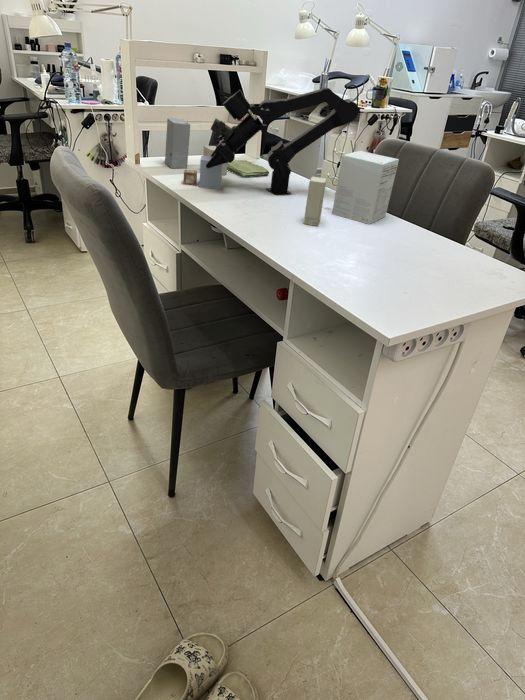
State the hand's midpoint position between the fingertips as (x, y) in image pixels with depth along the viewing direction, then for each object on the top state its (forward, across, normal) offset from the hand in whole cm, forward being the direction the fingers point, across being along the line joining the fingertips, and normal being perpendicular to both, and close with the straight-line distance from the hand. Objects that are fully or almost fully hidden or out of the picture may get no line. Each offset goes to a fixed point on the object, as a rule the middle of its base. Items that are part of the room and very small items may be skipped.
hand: (207, 164), depth 162 cm
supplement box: (-30, +18, +39) cm, 52 cm away
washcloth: (-4, -25, +14) cm, 29 cm away
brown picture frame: (+9, 0, +1) cm, 9 cm away
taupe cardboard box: (+3, -18, +6) cm, 20 cm away
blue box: (+4, 0, +6) cm, 7 cm away
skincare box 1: (+13, -23, -4) cm, 27 cm away
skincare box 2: (-18, +30, +28) cm, 44 cm away
